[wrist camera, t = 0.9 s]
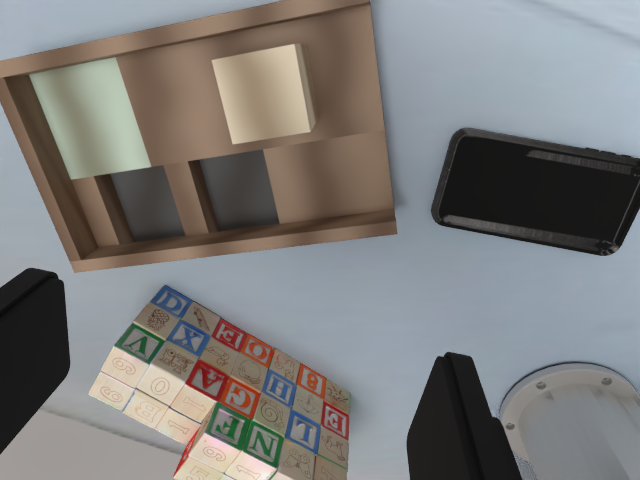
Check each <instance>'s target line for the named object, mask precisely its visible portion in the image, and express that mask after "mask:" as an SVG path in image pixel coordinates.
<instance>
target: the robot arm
mask: <svg viewBox="0 0 640 480" xmlns="http://www.w3.org/2000/svg"><path fill="white" fill-rule="evenodd" d="M69 368H70V354H69V341H68V328H67V316H66V303H65V291H64V283H63V281H62V280H59V279H58V276H57V274H56V273H54V272H50V271H45V270H40V269H35V268H28V269H26V270H24V271H23V272H22V273H20V274H19V275H17V276H16V277H15V278H13V279H12V280H10V281H9V282H8V283H6V284H5V285H3V286H2V287H1V288H0V454H1V453H2V452H3V450H4V449H5V448H6V447H7V446H8V445H9V443H10V442H11V441H12V440H13V439H14V438H15V436H16V435H17V434H18V433H19V432H20V431H21V429H22V428H23V427H24V426H25V425H26V423H27V422H28V421H29V420H30V419H31V417H32V416H33V415H34V414H35V413H36V412H37V411H38V409H39V408H40V407H41V406H42V405H43V404H44V402H45V401H46V400H47V399H48V398H49V396H50V395H51V394H52V393H53V392H54V391H55V389H56V388H57V387H58V386H59V385H60V384H61V382H62V381H63V380H64V379H65V377H66V376H67V374H68V371H69ZM512 451H513V452H514V453H515V454H516V455H517V456H519V457H520V458H522V459H523V460H525V461H527V462H529V463H531V465H532V468H533V470H534V473H535V476H536V478H537V480H640V396H639V394H638V393H637V392H636V390H635V389H634V387H633V386H632V385H631V384H630V383H629V382H628V381H627V380H626V379H625V378H624V377H622V376H621V375H619V374H618V373H616V372H614V371H612V370H610V369H607V368H605V367H601V366H597V365H592V364H581V363H573V364H562V365H557V366H552V367H548V368H546V369H543V370H540V371H537V372H535V373H533V374H532V375H530V376H528V377H526V378H524V379H523V380H522V381H521V382H519V383H518V384H517V385H515V387H514V388H513V389H512V390H511V391H510V392H509V393H508V394H507V396H506V398H505V400H504V401H503V403H502V406H501V409H500V414H499V419H498V418H495V417H492V415H491V412H490V409H489V406H488V403H487V400H486V397H485V394H484V392H483V389H482V386H481V383H480V380H479V377H478V374H477V371H476V368H475V365H474V362H473V359H472V357H470V356H466V355H461V354H456V353H451V352H447V353H446V354H445V355H444V357H441V356H438V357H437V358H436V360H435V363H434V365H433V368H432V371H431V373H430V376H429V379H428V381H427V384H426V387H425V389H424V392H423V395H422V397H421V400H420V403H419V405H418V408H417V410H416V413H415V416H414V418H413V421H412V424H411V426H410V429H409V432H408V436H407V455H408V464H409V473H410V480H522V478H521V475H520V472H519V469H518V466H517V463H516V461H515V458H514V455H513V452H512Z"/></svg>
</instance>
